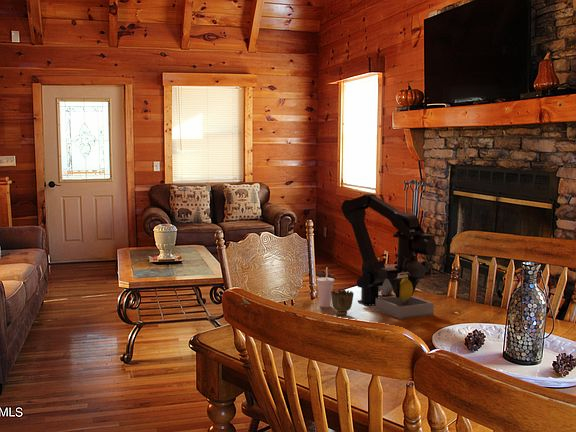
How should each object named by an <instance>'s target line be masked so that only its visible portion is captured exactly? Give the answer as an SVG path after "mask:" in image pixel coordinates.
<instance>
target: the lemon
mask: <svg viewBox="0 0 576 432" xmlns="http://www.w3.org/2000/svg"><path fill="white" fill-rule="evenodd" d="M412 293H413V286H412V283H411V282H410V281H409V280H408V278H406V277H405V278H402V281H401V282H400V292H399V298H401V299H402V300H403V301H406V300H407V299H409V298H410V297H411V296H412ZM413 294H414V293H413Z"/></svg>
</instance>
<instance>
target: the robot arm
mask: <svg viewBox="0 0 576 432" xmlns="http://www.w3.org/2000/svg"><path fill="white" fill-rule="evenodd" d="M340 208H341V209H340V210H341V212H342V214H343V216H344V218H345V220H347V222H348V223H349V224H351V225H350V226H351V228H352V231H353V234H354V237H355V240H356V244H357V247H358V250H359V253H360V256H361V257H360V258H361V259H362V264H361V274H362V275H361V276H360V277H359V278H358V279H357V280H356V285H357V288H361V291H360V293H361V295H360V296H361V297H360V299H358V300H357V303H358V304H359V303H360V304H361V305H365V306H367V307H369V306H374V305H375V306H376V298H380V297H379V295H380V292H378V291H379V288H378V286H382V285H383V283H384V280H385V279H388V280H389V282H390V284H391V286H392V288H393V290H394V292H393V293H394V296H396V297H399V292H400V282H401V281H402V280H403V278H401V277H400V276H402V275H403V276H404V275H407V280H409V281H410V282H411V283H412V286H413V293H412V296H413V295H414V293H415V292H416V288H417V286H418V284H419V282H420V281H422V279H425V277H427V276H432V275H433V274H432V273H433V271H432V268H431V267H430V262H429V261H427V260H425V261H424V260H423V261H419V260H418V255H424V256H429V257H431V256H432V257H433V255H434V254H435V253H436V251H437V242H436V239H434V235H433V234H426V233H425V232H424V230H423V228H422V226H421V224H420V221H419V218H418V217H417V215H415V214H413V213H411V212H406V211H403V210H399V209H397V208H396V207H395V206H392V205H391V204H390V203H388V202H387V201H384V200H383V199H381V198H379V197H378V196H377V195H376V194H374V193H365V194H363V195H361V196H358V197H356V198H351V199H345V200H343V202H342V204H341V206H340ZM367 209H372V210H373V211H374V212H376V213H377V214H379V215H381V216H383V217H384V218H385V219H387V220H388V221H389V222H390V223H391V226H393V227H394V229H396V232H395V233H394V234H393V235H392V237H393V238H397V253H395V254H394V257H396V258H397V259H396V260H397V263H396V265H394V268H391V267H386V266H385V261H384V260H380V259H378V258H377V256H376V253H375V249H374V248H373V247H374V246H373V244H372V241H371V237H370V234H369V230H368V228H367V225H366V221H365V220H366V219H365V217H366V214H367V212H366V210H367ZM417 254H418V255H417Z"/></svg>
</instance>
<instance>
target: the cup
mask: <svg viewBox="0 0 576 432" xmlns="http://www.w3.org/2000/svg"><path fill="white" fill-rule="evenodd" d="M354 293H355V292H353V291H352V290H349V289H348V290H347V291H346V289H342V290H341V289H338V290H337V291H336V290H334V289H333V290H332V292H331V294H332V297H331V303H332V307H333V309H334V310H335V311H336V315H337V316H339V317H346V316H348V311H349V310H351V309H352V306H353V301H354V299H353V298H354Z"/></svg>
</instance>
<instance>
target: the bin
mask: <svg viewBox="0 0 576 432" xmlns="http://www.w3.org/2000/svg"><path fill="white" fill-rule="evenodd" d="M434 306H435V305H434V302H432V301H428V300H424V299H422V298H419V297H416V296H411V297H410V298H409V299H407V300H406V301H403V300H402V299H401V298H399V297H396V295H389V296H381V297H379V298H376V305H375V310H377V311H378V312H381V313H383V314H385V315H387V316H391V317H392V318H393V317H394V318H395V319H398V320H404V319H405V320H406V319H412V318H413V319H414V318H419V317H428V316H434V310H435V309H434Z"/></svg>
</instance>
